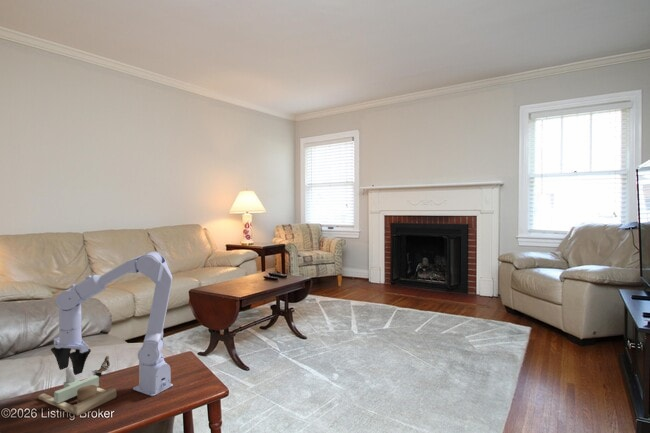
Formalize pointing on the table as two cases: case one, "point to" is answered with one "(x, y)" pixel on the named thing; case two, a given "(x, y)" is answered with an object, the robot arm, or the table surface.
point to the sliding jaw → (73, 386)
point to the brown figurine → (103, 366)
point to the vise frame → (84, 405)
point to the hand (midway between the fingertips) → (70, 370)
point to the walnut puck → (86, 392)
